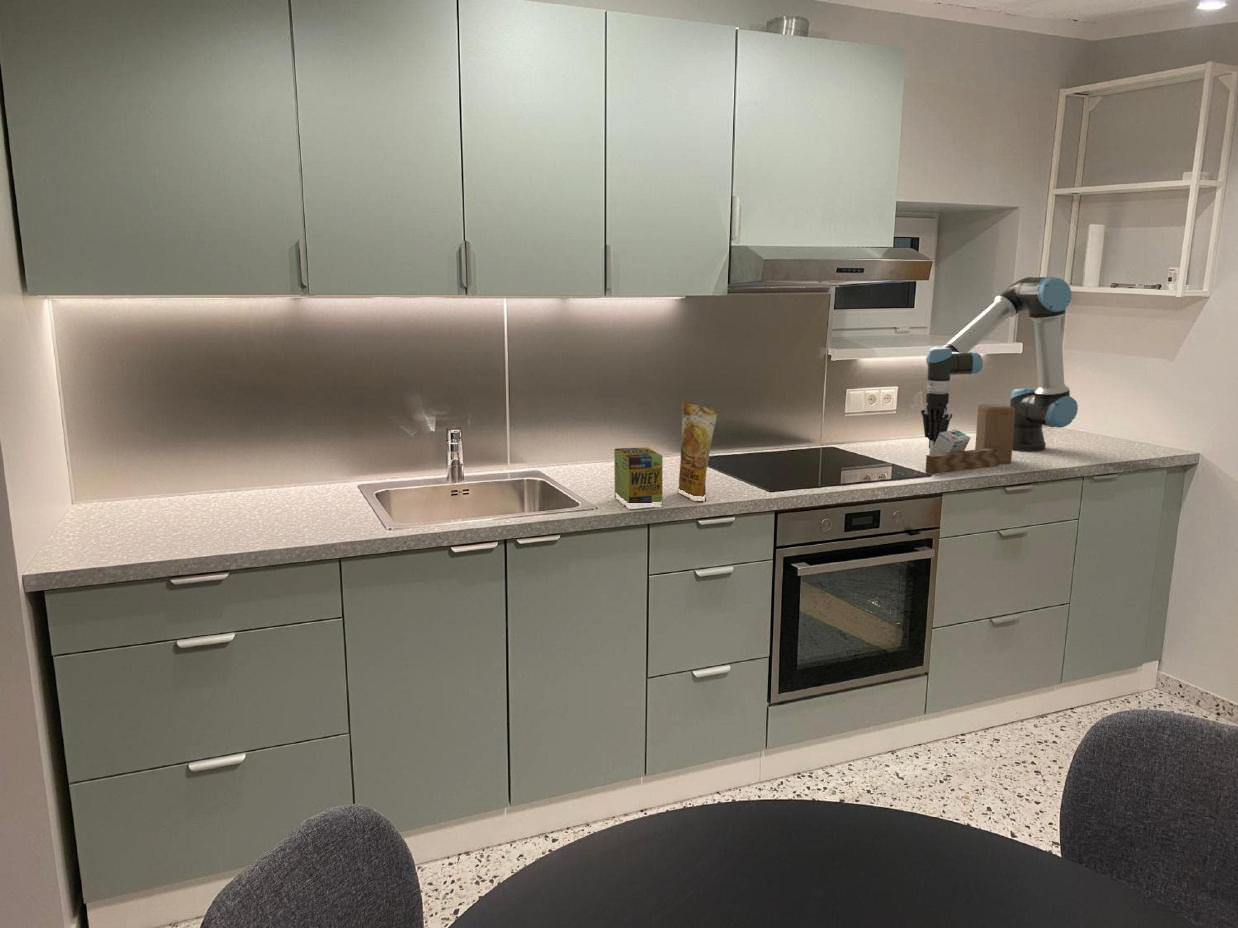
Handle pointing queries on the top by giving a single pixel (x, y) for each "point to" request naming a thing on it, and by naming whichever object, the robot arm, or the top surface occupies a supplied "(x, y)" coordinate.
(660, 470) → the protein box
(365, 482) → the top surface
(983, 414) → the wooden block
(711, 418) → the pancake mix bag
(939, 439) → the light bulb box
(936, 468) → the walnut board
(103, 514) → the top surface
